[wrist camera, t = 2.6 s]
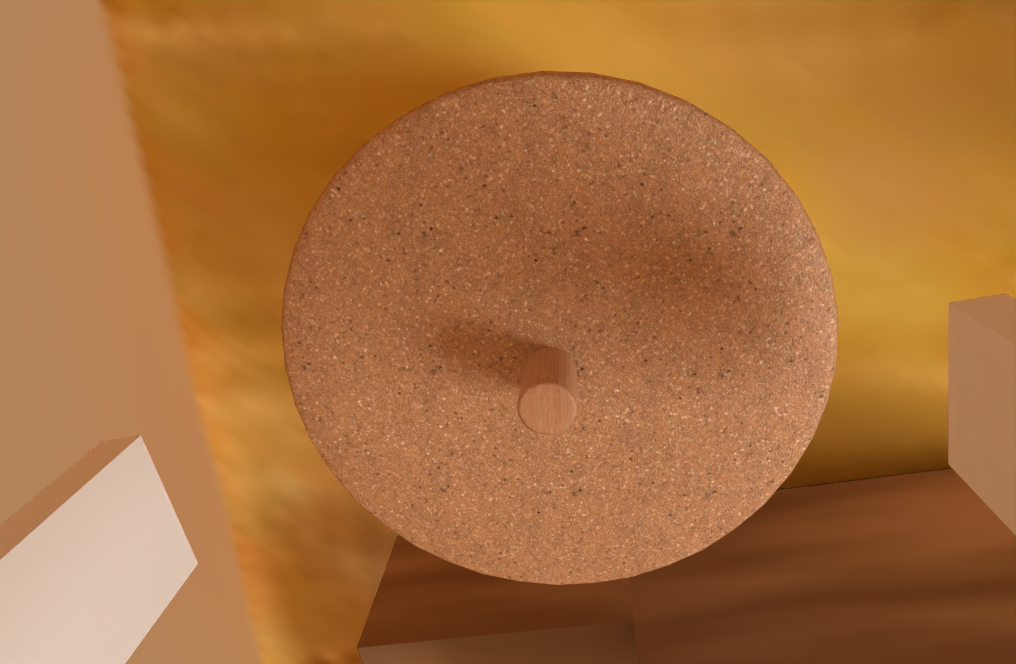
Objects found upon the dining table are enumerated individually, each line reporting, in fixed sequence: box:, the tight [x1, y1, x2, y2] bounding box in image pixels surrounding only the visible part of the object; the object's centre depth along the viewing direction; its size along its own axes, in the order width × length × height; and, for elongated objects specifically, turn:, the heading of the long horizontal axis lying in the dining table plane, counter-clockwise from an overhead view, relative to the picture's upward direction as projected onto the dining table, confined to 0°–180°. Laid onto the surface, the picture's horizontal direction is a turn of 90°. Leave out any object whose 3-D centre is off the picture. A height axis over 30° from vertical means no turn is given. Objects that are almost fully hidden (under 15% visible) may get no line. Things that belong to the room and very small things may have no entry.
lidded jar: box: [282, 71, 838, 585], centre depth 16 cm, size 11×11×9 cm
